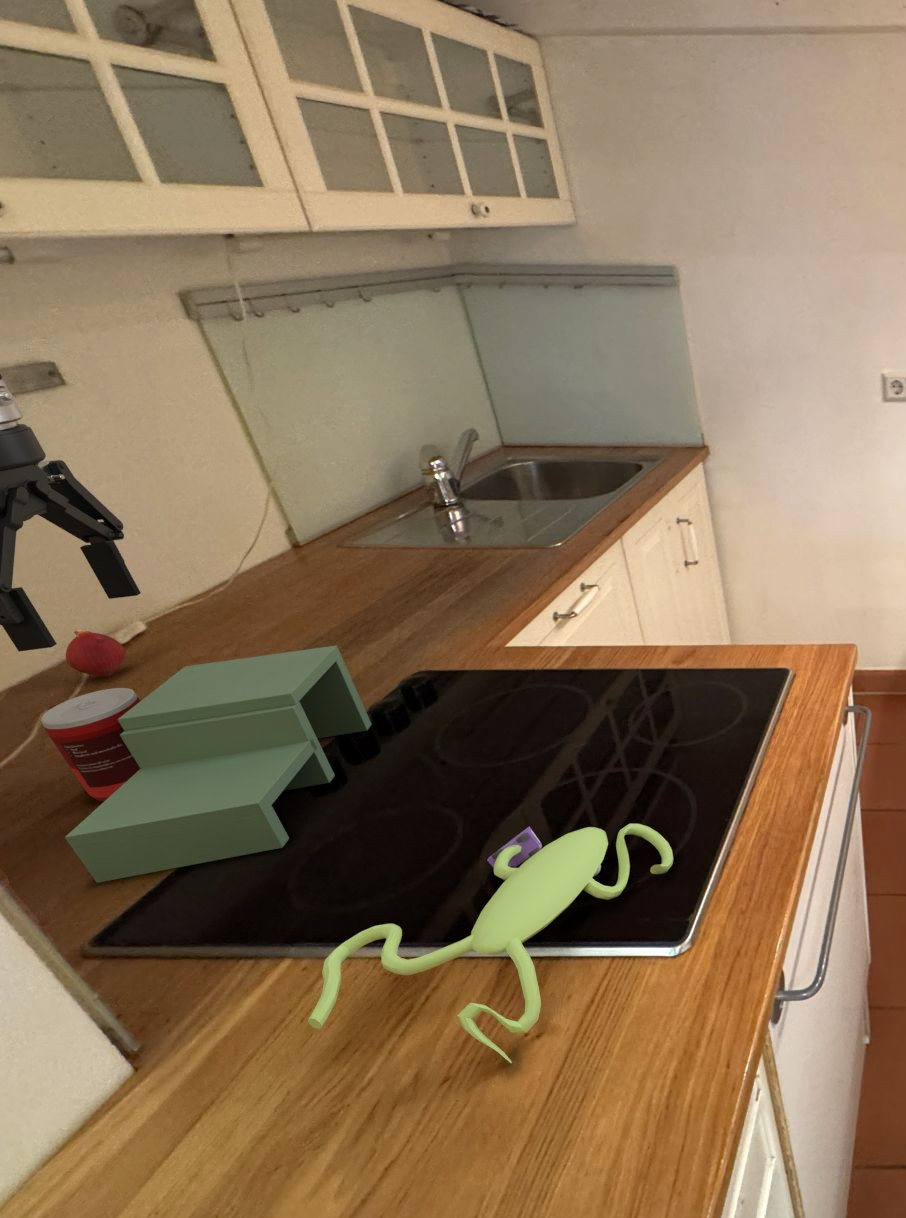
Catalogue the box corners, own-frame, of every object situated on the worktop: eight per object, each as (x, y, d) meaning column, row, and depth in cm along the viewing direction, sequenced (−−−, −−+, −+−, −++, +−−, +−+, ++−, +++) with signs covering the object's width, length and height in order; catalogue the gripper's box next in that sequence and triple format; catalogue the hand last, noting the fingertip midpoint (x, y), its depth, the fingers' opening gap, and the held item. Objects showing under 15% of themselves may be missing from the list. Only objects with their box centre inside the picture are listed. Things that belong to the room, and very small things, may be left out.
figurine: (294, 1043, 60) (264, 995, 58) (547, 819, 83) (533, 777, 81) (479, 1107, 55) (454, 1057, 53) (694, 849, 78) (683, 806, 76)
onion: (125, 663, 120) (98, 617, 116) (142, 670, 117) (115, 624, 114) (74, 681, 115) (44, 634, 111) (90, 689, 113) (61, 641, 109)
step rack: (96, 883, 77) (29, 787, 72) (229, 747, 98) (184, 666, 92) (282, 847, 81) (231, 754, 75) (372, 724, 101) (337, 645, 96)
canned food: (155, 757, 96) (110, 682, 91) (195, 769, 94) (151, 692, 89) (75, 796, 90) (22, 717, 85) (116, 809, 87) (63, 729, 82)
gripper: (-94, 454, 66) (41, 667, 75) (104, 403, 88) (191, 574, 97) (-210, 463, 64) (-57, 680, 73) (22, 409, 86) (118, 582, 95)
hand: (84, 620), depth 85 cm, fingers open, 13 cm apart
